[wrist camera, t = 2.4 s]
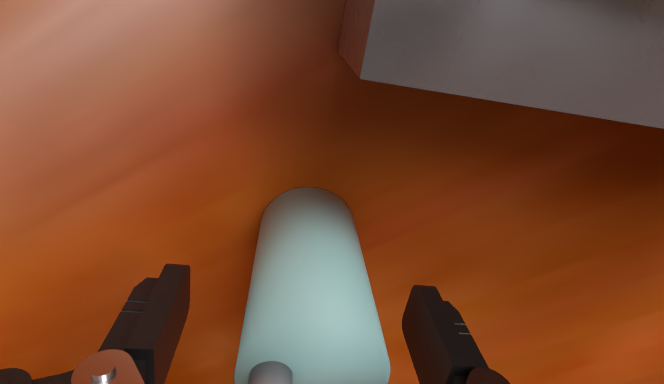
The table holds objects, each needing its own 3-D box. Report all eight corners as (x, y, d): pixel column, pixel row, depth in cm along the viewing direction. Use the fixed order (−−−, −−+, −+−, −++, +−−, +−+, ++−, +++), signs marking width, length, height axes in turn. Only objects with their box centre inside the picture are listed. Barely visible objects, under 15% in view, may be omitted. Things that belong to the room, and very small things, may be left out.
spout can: (362, 193, 17) (424, 378, 9) (344, 270, 19) (382, 486, 11) (265, 181, 17) (229, 368, 8) (256, 262, 19) (220, 485, 10)
